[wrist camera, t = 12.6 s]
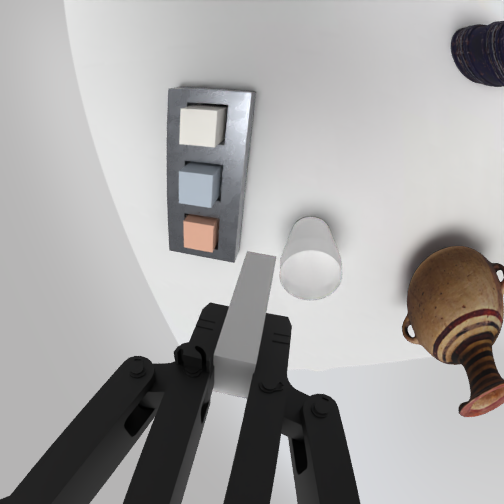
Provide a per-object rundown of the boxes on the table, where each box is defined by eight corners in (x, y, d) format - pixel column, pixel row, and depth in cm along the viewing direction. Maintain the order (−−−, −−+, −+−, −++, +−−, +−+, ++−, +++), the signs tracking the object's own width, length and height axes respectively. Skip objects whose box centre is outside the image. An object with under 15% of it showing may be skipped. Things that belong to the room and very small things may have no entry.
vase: (480, 213, 41) (568, 332, 17) (482, 284, 49) (534, 399, 25) (380, 249, 50) (419, 401, 25) (397, 315, 57) (421, 445, 33)
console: (179, 87, 40) (168, 88, 36) (255, 92, 39) (251, 93, 36) (177, 238, 56) (169, 250, 52) (239, 250, 55) (234, 262, 51)
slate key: (191, 161, 44) (178, 171, 40) (222, 164, 44) (212, 175, 39) (190, 190, 47) (178, 203, 43) (220, 194, 46) (211, 208, 42)
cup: (282, 252, 53) (276, 297, 44) (286, 206, 48) (280, 245, 39) (332, 258, 52) (336, 303, 42) (340, 212, 47) (349, 253, 37)
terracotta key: (193, 207, 50) (183, 221, 46) (221, 212, 50) (213, 226, 46) (193, 232, 53) (184, 247, 49) (220, 237, 53) (212, 252, 49)
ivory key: (193, 104, 39) (180, 108, 35) (226, 107, 38) (217, 110, 34) (192, 136, 42) (179, 144, 38) (224, 139, 41) (214, 147, 37)
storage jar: (505, 66, 26) (562, 75, 14) (476, 95, 31) (531, 111, 19) (471, 17, 23) (524, 7, 11) (439, 45, 29) (490, 39, 16)
